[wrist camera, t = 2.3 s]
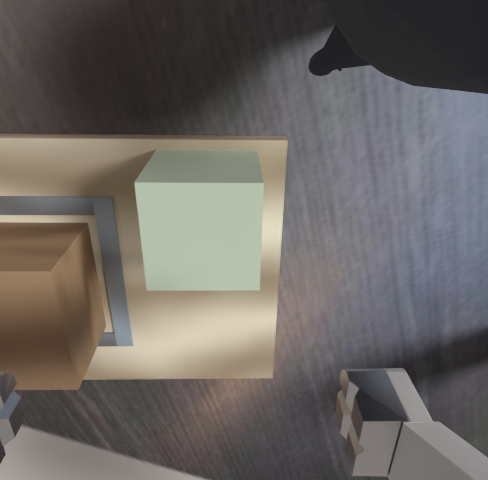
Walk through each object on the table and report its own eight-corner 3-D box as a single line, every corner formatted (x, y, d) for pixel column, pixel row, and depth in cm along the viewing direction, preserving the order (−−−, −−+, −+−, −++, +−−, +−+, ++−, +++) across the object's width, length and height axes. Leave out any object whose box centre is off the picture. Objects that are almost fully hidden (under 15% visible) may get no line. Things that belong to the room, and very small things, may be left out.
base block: (-45, 222, 21) (-118, 271, 17) (87, 222, 22) (50, 271, 17) (-10, 326, 25) (-63, 390, 20) (106, 325, 25) (78, 389, 20)
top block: (156, 149, 20) (134, 182, 15) (257, 150, 20) (263, 183, 16) (163, 239, 22) (146, 290, 18) (254, 239, 22) (259, 290, 18)
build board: (-152, 132, 20) (-173, 137, 19) (285, 135, 21) (288, 141, 20) (-51, 369, 27) (-62, 382, 26) (271, 367, 28) (272, 379, 27)
